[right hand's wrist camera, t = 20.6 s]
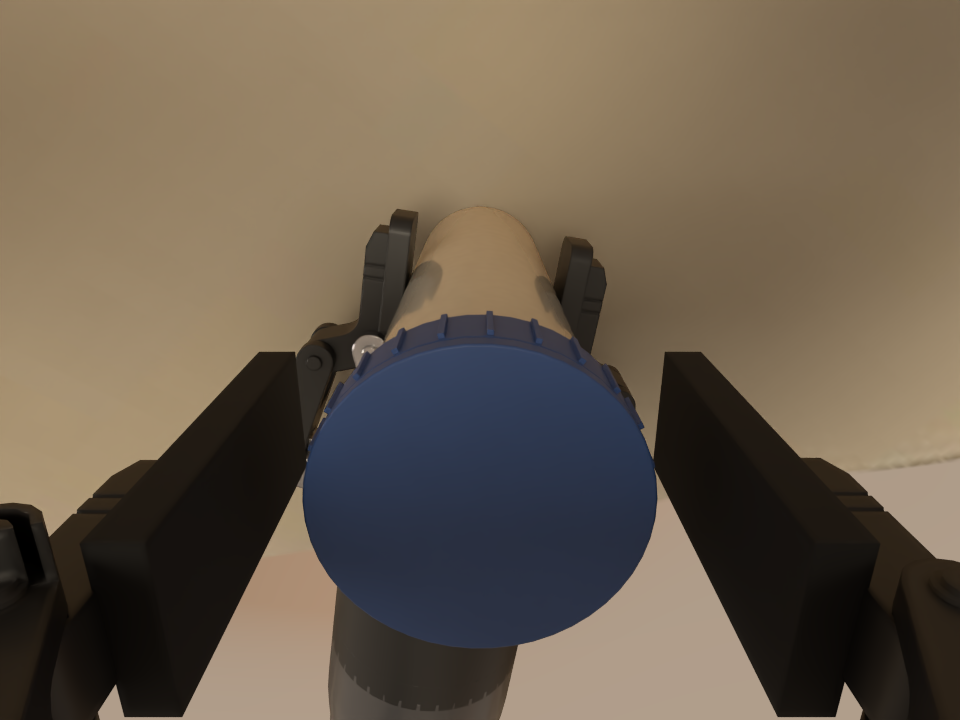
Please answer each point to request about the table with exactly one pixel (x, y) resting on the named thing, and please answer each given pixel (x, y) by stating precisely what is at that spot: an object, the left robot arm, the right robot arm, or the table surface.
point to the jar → (479, 274)
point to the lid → (479, 483)
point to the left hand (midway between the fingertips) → (491, 229)
